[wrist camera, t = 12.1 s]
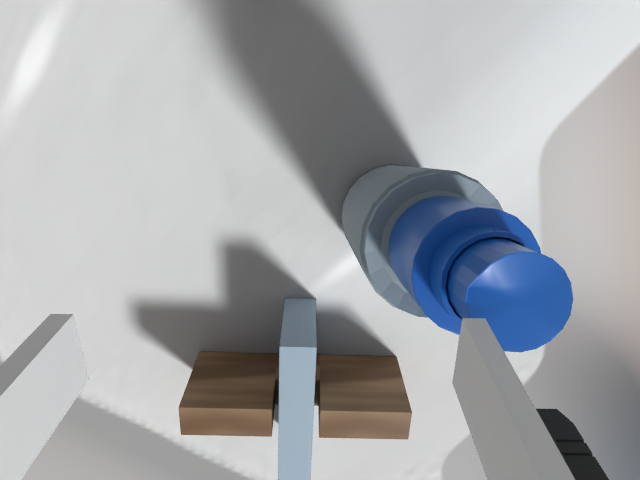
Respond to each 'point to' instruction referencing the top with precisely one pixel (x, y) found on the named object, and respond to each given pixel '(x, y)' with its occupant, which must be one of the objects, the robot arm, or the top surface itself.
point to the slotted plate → (296, 388)
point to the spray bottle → (454, 255)
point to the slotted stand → (263, 394)
